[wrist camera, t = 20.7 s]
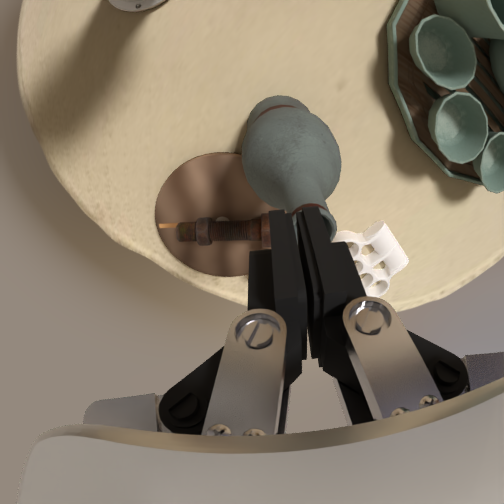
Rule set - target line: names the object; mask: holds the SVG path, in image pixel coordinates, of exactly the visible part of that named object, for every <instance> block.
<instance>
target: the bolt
mask: <svg viewBox="0 0 504 504" xmlns="http://www.w3.org/2000/svg"><path fill="white" fill-rule="evenodd" d="M176 237H177V240H178V241H179V242H192V241H193V242H194V241H195V242H196V241H197V243H198V244H199V245H200V246H208V245H211V244H212V242H213V241H217V240H218V241H230V240H231V241H232V240H233V241H234V240H235V241H236V240H237V241H238V240H239V241H241V240H242V241H243V240H244V241H245V240H246V241H247V240H248V241H262V247H271V239H270V226H269V213H261V219H251V220H247V221H246V220H242V221H241V220H240V221H239V220H238V221H237V220H236V221H235V220H234V221H233V220H232V221H226V220H225V221H223V222H222V221H212V219H211V218H210V217H205V218H198V219H197V221H196V222H188V223H187V222H186V223H185V222H182V223H181V222H180V223H178V225H177V226H176Z"/></svg>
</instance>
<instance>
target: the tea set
mask: <svg viewBox="0 0 504 504" xmlns="http://www.w3.org/2000/svg"><path fill="white" fill-rule="evenodd" d="M387 41H388V72H389V85H390V88H391V90H392V92H393V94H394V97H395V99H396V101H397V104H398V106H399V108H400V111H401V113H402V116H403V118H404V121H405V123H406V126H407V129H408V131H409V134H410V137H411V139H412V140H413V141H414V142H415V143H416V144H417V145H418V146H419V147H420V148H421V149H422V150H423V151H424V152H425V153H426V154H427V155H428V156H429V157H430V158H431V159H432V160H433V161H434V162H435V163H436V164H437V165H438V167H439V168H440V169H441V170H442V171H443V172H444V173H445V174H446V175H448V176H449V177H453V178H457V179H461V180H465V181H468V182H472V183H476V184H479V185H483V186H485V187H486V189H487V190H488V191H490V192H494V193H500V192H502V191H504V0H399V2H398V4H397V6H396V8H395V10H394V12H393V14H392V16H391V18H390V20H389V21H388V23H387Z"/></svg>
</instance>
